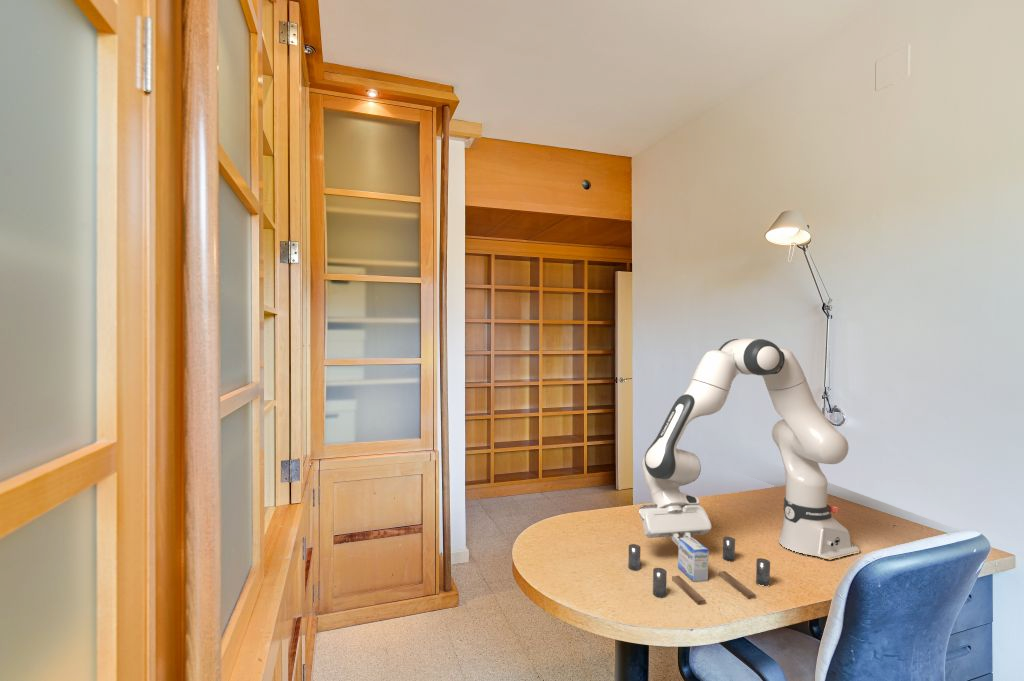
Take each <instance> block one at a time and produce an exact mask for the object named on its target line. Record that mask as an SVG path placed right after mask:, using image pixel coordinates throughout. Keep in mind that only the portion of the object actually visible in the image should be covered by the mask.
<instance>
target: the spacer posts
mask: <svg viewBox="0 0 1024 681" xmlns="http://www.w3.org/2000/svg"><path fill="white" fill-rule="evenodd" d="M735 554H736V539H735V538H734V537H732V536H723V537H722V559H723V561H725V560H726V561H725V562H729V561H730V562H732V561H733V562H735V561H736V556H735ZM627 558H628V560H627V562H628V566H627V568H628V569H629V570H630V571H635V572H636V571H640V570H641V546H640V544H639V545H638V544H635V543H631V544H629V545H628V557H627ZM734 560H735V561H734ZM733 562H732V563H733ZM652 570H653V574H652V578H653V579H652V595H653V596H654V597H656V598H659V599H663V598H666V597H667V570H666V569H664V568H663V567H655V568H653V569H652ZM755 572H756V573H755V575H756V576H755V583H756V582H757V583H758V584H760V585H764V586H768V585H771V584H770V583H771V582H770V581H771V575H770V574H771V561H770V560H769V559H766V558H762V557H761V558H760V557H759V558H757V559H756V569H755ZM757 583H756V584H757ZM758 584H757V585H758ZM760 585H759V586H760ZM764 586H763V587H764ZM768 587H769V586H768Z"/></svg>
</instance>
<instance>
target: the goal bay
mask: <svg viewBox="0 0 1024 681" xmlns="http://www.w3.org/2000/svg"><path fill="white" fill-rule="evenodd" d="M718 576H719V577H720V578H721V579H722V580H724V581H725V582H726V583H728V584H729V585H730V586H731V587H733V588H734V589H735V590H736V591H737V592H738V593H740V592H741V593H742V594H741V593H740V594H741V595H743V596H744V597H745V596H746V597H747V598H746V597H745V598H746V599H748V600H752V599H751V598H755V599H756V596H757V594H756V593H754V592H753V591H752V590H751V589H750V588H748V587H747V586H745V585H744V584H743V583H741V582H740V581H739V580H738V579H736V578H735V577H733V576H732V575H731V574H729V572H727V571H725V570H723V571H722V570H721V571H718ZM671 581H672V582H674V584H676V585H677V586H678V587H679V588H680V590H682V591H683V592H684V593H685V594H686V595H687V596H688V597H689V598H690V599H691V600H692V601H693V602H695V603H696V605H698V606H699V605H706V603H707V600H706V599H705V597H704V596H702V595H701V594H700V593H699V592H698V591H696V589H694V588H693V587H692V586H691V585H690V584H689V583H687V582H686V580H684V579H683V578H682V577H681V576H680V575H673V576H671Z"/></svg>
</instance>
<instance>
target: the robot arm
mask: <svg viewBox="0 0 1024 681" xmlns="http://www.w3.org/2000/svg"><path fill="white" fill-rule="evenodd" d="M739 374H742V375H755V376H761V377H762V378H763V381H764V384H765V387H766V389H767V392H768V394H769V397H770V400H771V403H772V406H773V408H774V410H775V411H776V413H777V414H778V415H779V416H780V417H781V418H782V419H780V420H778V421H777V422H776V423H774V425H773V426H772V430H771V437H772V440H773V441H774V442H773V443H775V444H776V446H777V448H778V451H779V453H780V456H781V458H782V464H783V468H784V471H785V472H784V473H785V497H784V498H783V512H784V514H783V521H782V526H781V531H780V534H779V538H778V540H779V541H778V544H779V543H780V544H781V545H782V546H781V545H780V544H779V545H780V546H781V547H783V548H784V547H785V548H784V549H786V548H787V550H788V549H790V550H792V551H791V552H793V551H795V552H794V553H796V552H799V553H803V554H809V555H815V556H820V557H824V558H834V557H838V556H842V555H846V554H850V553H854V552H858V551H860V552H861V549H859V546H857V545H855V544H854V543H851V536H850V532H849V530H848V529H847V527H845V526H844V525H843V524H841V523H840V522H839V521H837V520H836V519H835V518H834V517H833V515H832V513H833V514H838V513H839V512H840V508H839V507H838V506H835V505H829V504H828V479H827V476H826V475H825V474H824V473H823V471H822V469H821V467H820V464H826V465H837V464H839V463H842V462H843V461H844V460H845V459H846V458H847V455H848V453H849V443H848V440H847V438H846V437H845V436H844V435H843V434H842V433H840V432H839V431H838V430H837V429H836V428H835V427H834V426H833V424H831V422H830V421H829V420H828V418H827V416H825V413H823V411H822V410H821V408H820V407H819V406H818V403H817V402H816V400H815V398H814V395H813V393H812V391H811V388H810V385H809V383H808V380H807V378H806V376H805V373H804V371H803V368H802V367H801V365H800V363H799V361H798V358H797V357H796V356H795V354H794V353H793V352H792V351H791V350H789V349H788V348H782V347H779V346H778V345H777V344H775V343H774V342H772V341H770V340H768V339H763V338H760V339H759V338H754V337H753V338H752V337H751V338H750V337H747V338H735V339H734V338H733V339H729V340H728V341H726V342H723V344H722V345H721V346H720V347H719V348H718V349H712V350H709V351H707V352H706V353H704V354H703V356H702V358H701V360H700V361H699V363H698V365H697V367H696V368H695V371H694V374H692V378H691V381H690V384H689V385H688V387H687V389H686V391H684V393H683V394H682V395H681V396H678V398H677V399H676V400H675V402H674V404H673V405H672V407H671V409H670V411H668V415H667V417H666V418H665V420H664V422H663V424H662V426H661V428H660V430H659V432H658V434H657V436H656V437H655V439H654V441H653V442H652V443H651V444H650V445H649V447H648V448H647V450H646V452H645V455H644V457H643V458H642V462H641V470H642V473H643V478H644V481H645V483H646V487H647V488H648V489H649V491H650V499H651V501H652V504H644V505H642V506H640V507H639V509H638V514H639V517H640V518H641V521H642V522H641V523H642V528H643V532H644V536H646V537H647V538H648V539H655V538H656V539H657V538H668V537H670V538H671V541H672V542H673V543H674V544H675V545H676V546H677V547H678V549H679V538H680V536H682V538H684V537H692V536H696V535H706V534H709V532H710V531H711V529H712V523H711V520H710V518H709V516H708V514H707V512H706V509H704V508H703V506H701V505H700V503H701V501H700V498H699V497H697V496H695V495H691V494H688V493H684V492H681V491H680V487H682V486H686V485H689V484H692V483H693V482H695V481H696V480H697V479H699V476H700V474H701V471H702V470H701V469H702V466H701V461H700V459H699V457H698V456H697V455H696V454H695V453H692V452H690V451H687V450H684V449H681V448H677V446H678V444H679V442H680V440H681V438H682V435H683V434H684V432H685V430H686V428H687V427H688V425H689V423H690V422H691V421H693V420H694V419H697V418H700V417H703V416H709V415H713V414H715V413H718V412H720V410H721V409H722V408H723V406H724V405H725V403H726V401H727V399H728V396H729V394H730V390H731V388H732V384H733V381H734V380H735V378H736V377H737V376H738V375H739ZM852 546H853V547H852ZM790 550H789V551H790ZM799 553H798V554H799ZM828 555H830V556H828Z"/></svg>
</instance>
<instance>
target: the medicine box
mask: <svg viewBox="0 0 1024 681" xmlns="http://www.w3.org/2000/svg"><path fill="white" fill-rule="evenodd" d="M678 538H679V548H678V552H677V554H678V555H677V556H678V557H677V558H678V559H677V568H678V569H679V571H680V572H682V573H683V574H684V575H685V576H687V577H688V579H690V580H691V582H706V581H708V580H709V553H710V551H709V548H707V547H705V545H703V544H702V543H700V542H699V541H698V540H696V539H695V538H694V537H692V536H691V537H684V538H683V537H678Z"/></svg>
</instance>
